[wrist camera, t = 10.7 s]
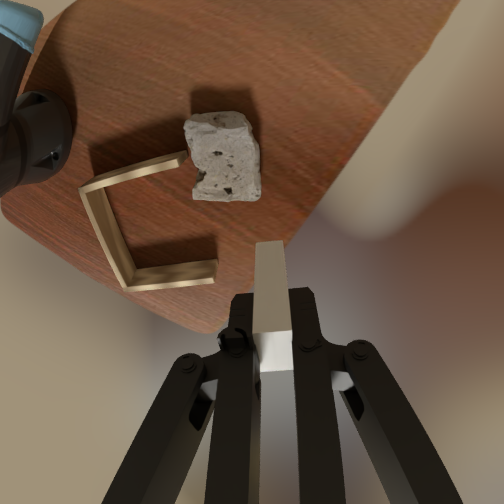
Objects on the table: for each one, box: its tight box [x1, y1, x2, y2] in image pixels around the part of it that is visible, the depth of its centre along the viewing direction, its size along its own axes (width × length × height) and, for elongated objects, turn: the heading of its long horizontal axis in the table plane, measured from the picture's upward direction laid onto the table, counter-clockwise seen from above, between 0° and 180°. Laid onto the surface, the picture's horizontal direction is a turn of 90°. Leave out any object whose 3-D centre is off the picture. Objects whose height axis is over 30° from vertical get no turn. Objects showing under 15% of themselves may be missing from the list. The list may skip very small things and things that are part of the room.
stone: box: [184, 111, 261, 202], centre depth 35 cm, size 13×6×10 cm
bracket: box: [78, 150, 219, 292], centre depth 41 cm, size 16×19×5 cm
